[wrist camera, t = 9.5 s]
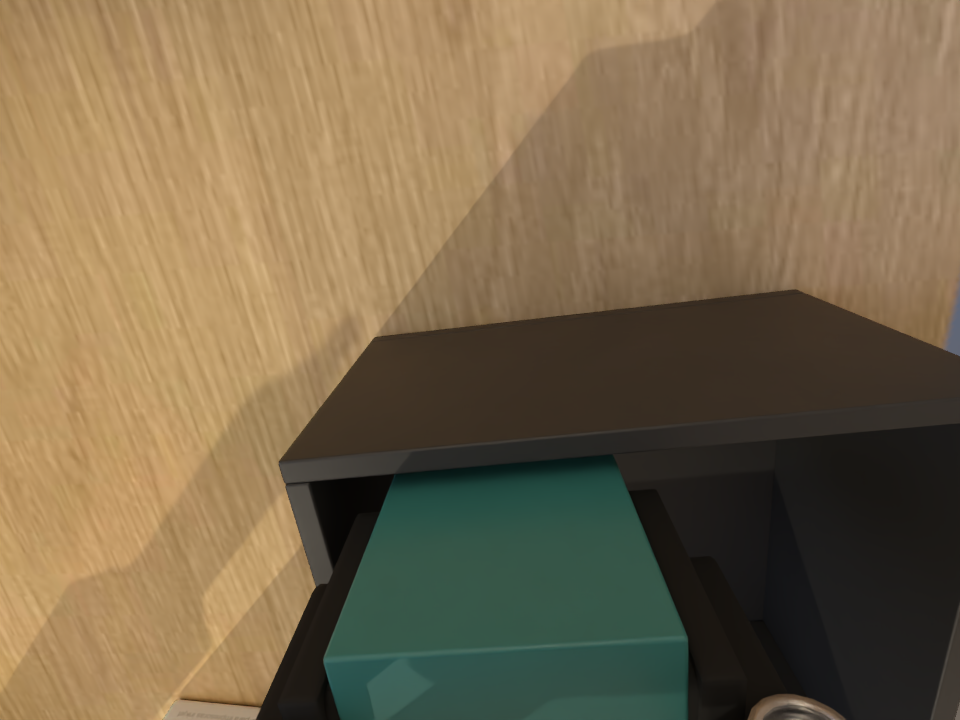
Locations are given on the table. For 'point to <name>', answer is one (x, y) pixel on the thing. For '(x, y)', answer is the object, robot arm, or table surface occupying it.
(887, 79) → the table surface
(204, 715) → the ink box
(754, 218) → the table surface
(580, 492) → the teal block
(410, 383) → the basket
